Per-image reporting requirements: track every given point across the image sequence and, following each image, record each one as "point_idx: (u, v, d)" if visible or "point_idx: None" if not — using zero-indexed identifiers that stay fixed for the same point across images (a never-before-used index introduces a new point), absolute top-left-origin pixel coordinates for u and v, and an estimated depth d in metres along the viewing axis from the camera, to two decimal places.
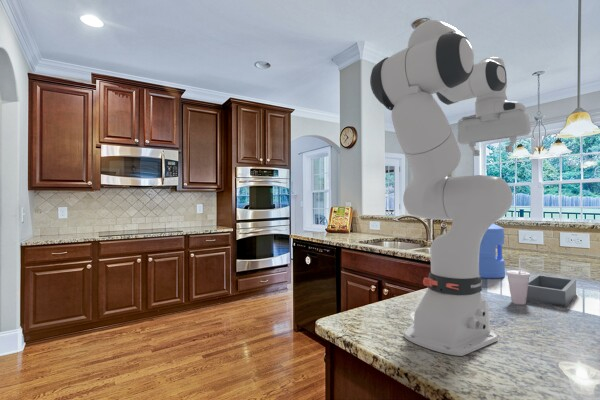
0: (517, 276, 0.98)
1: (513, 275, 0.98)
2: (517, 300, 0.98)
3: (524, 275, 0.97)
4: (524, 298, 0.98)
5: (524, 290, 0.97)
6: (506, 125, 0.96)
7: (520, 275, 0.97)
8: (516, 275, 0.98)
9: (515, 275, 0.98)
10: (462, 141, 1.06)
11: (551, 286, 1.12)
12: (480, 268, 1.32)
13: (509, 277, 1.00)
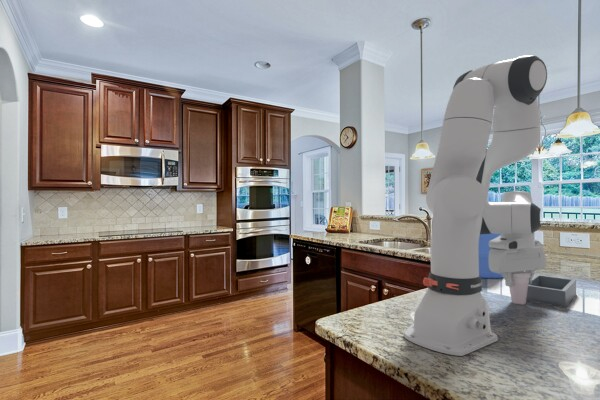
0: (517, 276, 0.98)
1: (513, 275, 0.98)
2: (517, 300, 0.98)
3: (524, 275, 0.97)
4: (524, 298, 0.98)
5: (524, 289, 0.97)
6: None
7: (520, 275, 0.97)
8: (516, 275, 0.98)
9: (515, 275, 0.98)
10: None
11: (551, 286, 1.12)
12: (480, 268, 1.32)
13: None
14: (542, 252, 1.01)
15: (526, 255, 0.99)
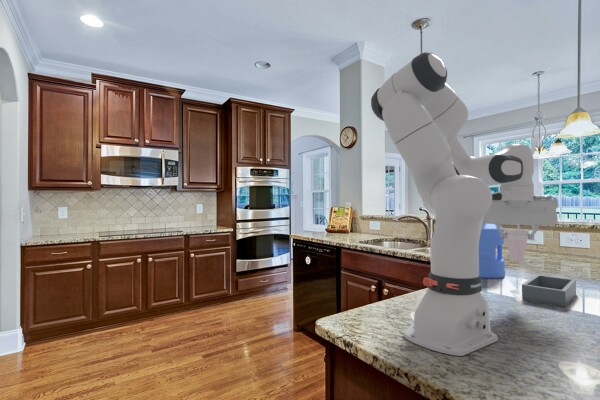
0: (509, 232, 0.99)
1: (506, 231, 1.00)
2: (511, 257, 0.99)
3: (515, 231, 0.98)
4: (518, 255, 0.98)
5: (516, 246, 0.98)
6: None
7: (511, 231, 0.98)
8: (508, 231, 0.99)
9: (507, 231, 1.00)
10: None
11: (551, 286, 1.12)
12: (480, 268, 1.32)
13: (506, 234, 1.02)
14: (550, 207, 0.95)
15: (524, 209, 0.98)
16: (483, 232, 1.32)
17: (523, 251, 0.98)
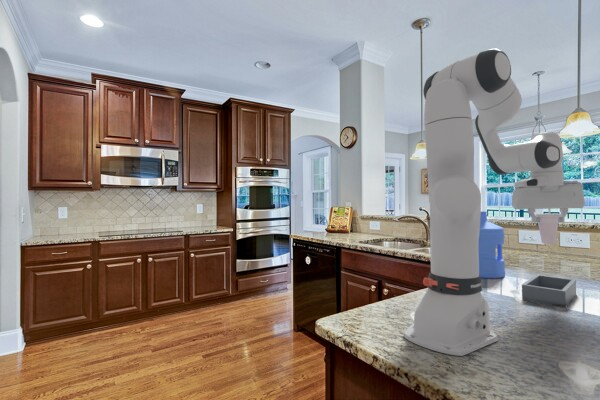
0: (543, 216, 1.04)
1: (539, 215, 1.05)
2: (545, 239, 1.04)
3: (550, 215, 1.03)
4: (552, 237, 1.03)
5: (551, 229, 1.03)
6: None
7: (546, 215, 1.03)
8: (542, 215, 1.04)
9: (541, 215, 1.04)
10: None
11: (551, 286, 1.12)
12: (480, 268, 1.32)
13: None
14: (578, 191, 1.02)
15: (555, 193, 1.04)
16: (483, 232, 1.32)
17: (556, 233, 1.03)
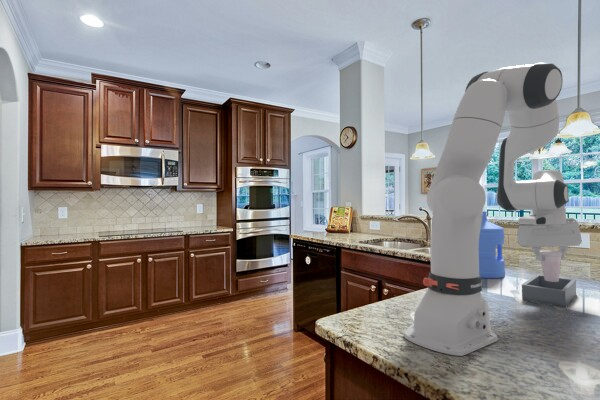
0: (549, 254, 1.03)
1: (545, 254, 1.03)
2: (550, 278, 1.03)
3: (556, 253, 1.02)
4: (557, 276, 1.02)
5: (556, 267, 1.02)
6: None
7: (552, 253, 1.02)
8: (548, 253, 1.03)
9: (547, 253, 1.03)
10: None
11: (551, 286, 1.12)
12: (480, 268, 1.32)
13: None
14: (576, 229, 1.04)
15: (558, 231, 1.04)
16: (483, 232, 1.32)
17: (559, 271, 1.03)
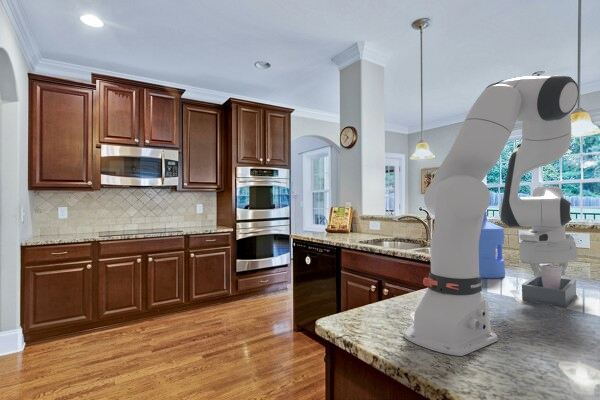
0: (550, 269, 1.02)
1: (546, 268, 1.03)
2: None
3: (557, 268, 1.02)
4: None
5: (557, 282, 1.02)
6: None
7: (553, 268, 1.02)
8: (549, 268, 1.02)
9: (548, 268, 1.02)
10: None
11: None
12: (480, 268, 1.32)
13: (542, 270, 1.05)
14: (573, 245, 1.05)
15: (557, 247, 1.04)
16: (483, 232, 1.32)
17: (559, 286, 1.03)
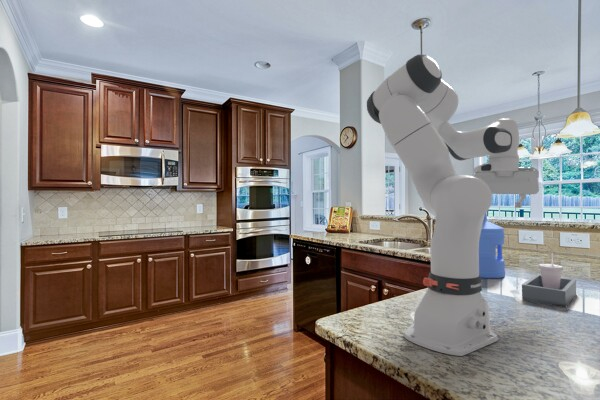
0: (550, 269, 1.02)
1: (546, 268, 1.03)
2: None
3: (557, 268, 1.02)
4: None
5: (557, 282, 1.02)
6: None
7: (553, 268, 1.02)
8: (549, 268, 1.02)
9: (548, 268, 1.02)
10: None
11: None
12: (480, 268, 1.32)
13: (542, 270, 1.05)
14: (533, 177, 1.04)
15: (510, 179, 1.06)
16: (483, 232, 1.32)
17: (559, 286, 1.03)
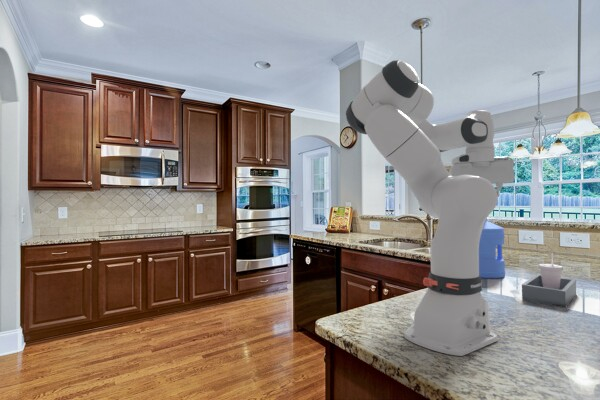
0: (550, 269, 1.02)
1: (546, 268, 1.03)
2: None
3: (557, 268, 1.02)
4: None
5: (557, 282, 1.02)
6: None
7: (553, 268, 1.02)
8: (549, 268, 1.02)
9: (548, 268, 1.02)
10: None
11: None
12: (480, 268, 1.32)
13: (542, 270, 1.05)
14: (508, 166, 1.06)
15: (487, 169, 1.08)
16: (483, 232, 1.32)
17: (559, 286, 1.03)
